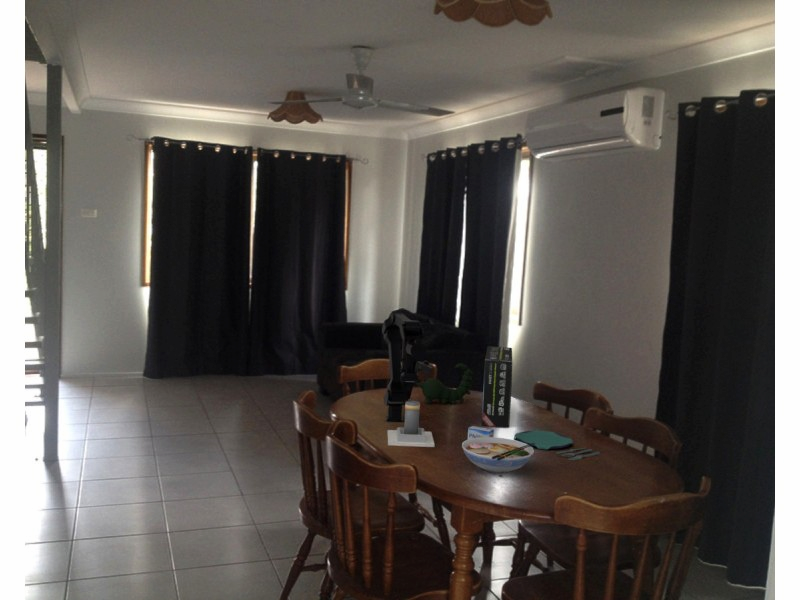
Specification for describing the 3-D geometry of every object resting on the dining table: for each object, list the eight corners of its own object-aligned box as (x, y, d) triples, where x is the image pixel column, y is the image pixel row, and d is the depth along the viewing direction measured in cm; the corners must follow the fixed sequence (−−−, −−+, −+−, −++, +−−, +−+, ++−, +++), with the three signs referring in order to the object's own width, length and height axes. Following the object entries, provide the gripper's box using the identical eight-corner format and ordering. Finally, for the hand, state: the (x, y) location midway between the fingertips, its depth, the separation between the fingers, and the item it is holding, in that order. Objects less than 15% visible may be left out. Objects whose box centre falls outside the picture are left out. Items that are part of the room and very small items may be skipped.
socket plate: (387, 432, 265) (388, 423, 265) (431, 434, 266) (431, 425, 265) (388, 445, 249) (388, 435, 249) (434, 447, 250) (434, 437, 249)
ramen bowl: (487, 453, 245) (488, 430, 244) (547, 469, 231) (549, 444, 230) (443, 469, 226) (445, 444, 225) (507, 488, 211) (508, 461, 211)
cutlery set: (543, 433, 276) (544, 427, 276) (604, 456, 251) (605, 450, 251) (504, 439, 265) (504, 433, 265) (563, 464, 240) (564, 457, 240)
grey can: (407, 435, 259) (409, 399, 257) (420, 437, 257) (422, 401, 255) (401, 438, 254) (403, 402, 253) (414, 441, 252) (416, 404, 251)
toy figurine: (463, 404, 324) (410, 400, 317) (469, 362, 323) (416, 357, 316) (471, 409, 315) (416, 405, 308) (477, 366, 314) (423, 361, 307)
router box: (483, 405, 316) (487, 345, 313) (508, 407, 314) (512, 347, 312) (480, 426, 280) (484, 358, 278) (509, 429, 279) (513, 360, 277)
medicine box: (466, 452, 245) (467, 427, 244) (471, 449, 249) (472, 425, 248) (488, 457, 241) (489, 431, 241) (492, 453, 245) (494, 428, 245)
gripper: (433, 359, 257) (431, 402, 258) (430, 352, 275) (428, 392, 276) (401, 358, 257) (400, 401, 258) (401, 350, 275) (399, 391, 276)
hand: (408, 396), depth 267 cm, fingers open, 9 cm apart
